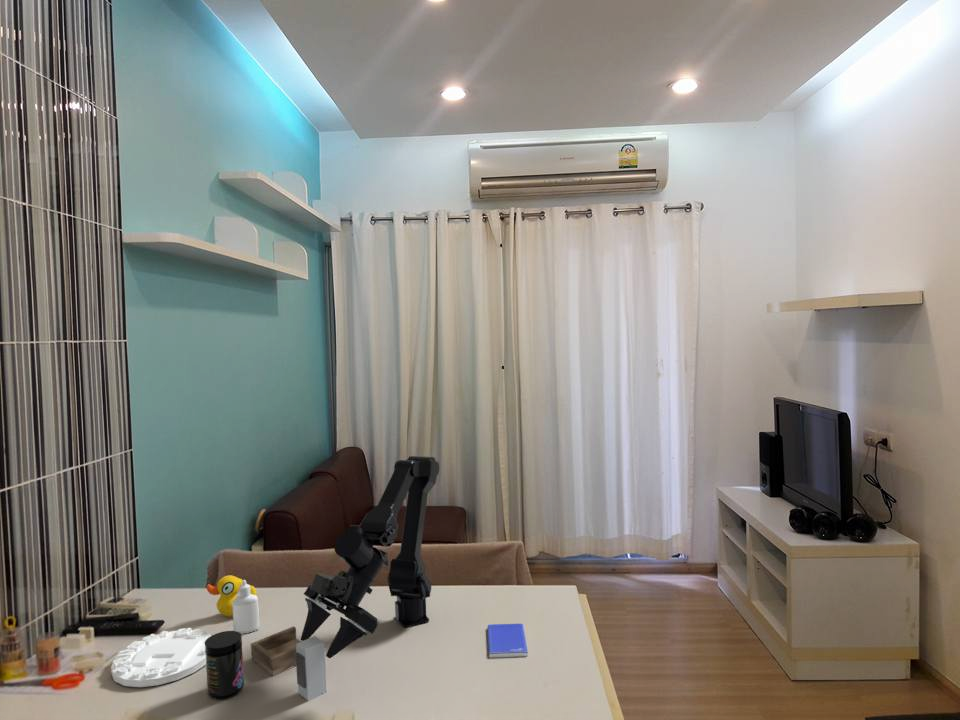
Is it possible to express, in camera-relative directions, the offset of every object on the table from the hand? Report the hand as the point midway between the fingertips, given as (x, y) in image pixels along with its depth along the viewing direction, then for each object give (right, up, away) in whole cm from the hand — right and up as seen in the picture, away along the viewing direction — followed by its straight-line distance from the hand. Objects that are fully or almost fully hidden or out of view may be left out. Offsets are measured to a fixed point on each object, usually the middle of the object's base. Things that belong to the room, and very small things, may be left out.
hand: (314, 648), depth 121 cm
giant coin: (-35, -9, +13) cm, 39 cm away
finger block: (0, -9, 0) cm, 9 cm away
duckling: (-29, -8, +34) cm, 45 cm away
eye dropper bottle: (-23, -8, +26) cm, 35 cm away
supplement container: (-18, -9, +2) cm, 20 cm away
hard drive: (+38, -7, +17) cm, 42 cm away
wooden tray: (-10, -8, +13) cm, 18 cm away
